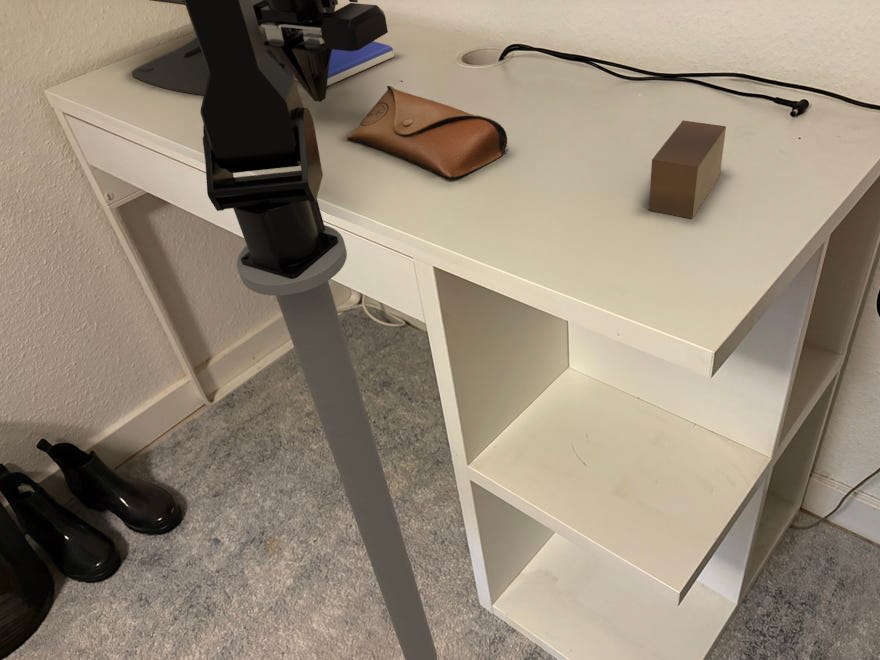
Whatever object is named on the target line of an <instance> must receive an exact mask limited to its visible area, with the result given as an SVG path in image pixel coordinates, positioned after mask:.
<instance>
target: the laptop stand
mask: <svg viewBox="0 0 880 660" xmlns="http://www.w3.org/2000/svg"><path fill="white" fill-rule="evenodd" d="M149 1H150V2H158V3H166V4H173V5H181V6H182V5H183V6H186V5H185V2H184V0H149ZM325 11H326V13H333V12H335V11H336V6H334V7H332V8H330V7H328V8H326V9H325ZM308 22H312V21H308ZM261 36H262V39H263V43H264V42H266V41H268V40H267V36H266V33H265V32H263V33H261ZM265 49H266V48H265ZM266 52H267V53H268V54H269V55H270V56H271V57H272V58H273V59H274V60H275V61H276V62H277V63H278V64H283V63H282V62H281V61H280V60H279V59H278V58H277V57H276V56H275V55H274V53H273V52H272V51H271V50H269V49H266ZM131 76H132V77H133V78H134V79H136V80H139V81H140V82H144V83H146V84H149V85H152V86H155V87H159V88H163V89H166V90H171V91H175V92H181V93H187V94H193V95H199V96H204V93H205V88H206V84H207V80H208V76H209V73H208V69H207V66H206V63H205V60H204V57H203V54H202V51H201V49H200V46H199V43H198V40H197V37H196V36H195V37H194V38H193V39H192V40H190V41H189V42H188V43H185V44H184V45H183V46H181V47H179V48H177V49H175V50H173V51H170V52H168V53H166V54H164V55H162V56H159V57H157V58H156V59H153V60H151V61H149V62H146V63H144V64H142V65H140V66H138V67H136V68H135V69H133V70H132V71H131Z"/></svg>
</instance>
